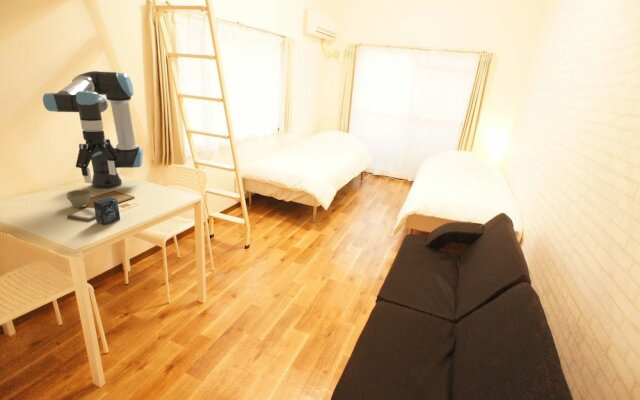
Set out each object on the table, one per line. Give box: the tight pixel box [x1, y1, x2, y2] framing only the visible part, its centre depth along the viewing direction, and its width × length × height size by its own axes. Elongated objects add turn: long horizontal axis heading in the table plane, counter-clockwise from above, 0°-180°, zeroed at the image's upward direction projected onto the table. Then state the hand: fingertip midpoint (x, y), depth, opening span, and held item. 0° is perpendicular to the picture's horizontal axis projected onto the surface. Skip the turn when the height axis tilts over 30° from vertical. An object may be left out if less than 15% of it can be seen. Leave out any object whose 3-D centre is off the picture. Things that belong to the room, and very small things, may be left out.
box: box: [93, 196, 121, 226], centre depth 152 cm, size 8×6×11 cm
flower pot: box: [65, 189, 92, 209], centre depth 166 cm, size 10×10×7 cm
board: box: [66, 206, 96, 222], centre depth 158 cm, size 12×12×1 cm
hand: (101, 178), depth 147 cm, fingers open, 13 cm apart
